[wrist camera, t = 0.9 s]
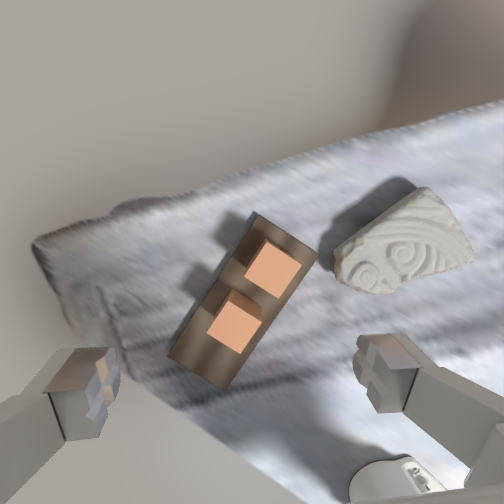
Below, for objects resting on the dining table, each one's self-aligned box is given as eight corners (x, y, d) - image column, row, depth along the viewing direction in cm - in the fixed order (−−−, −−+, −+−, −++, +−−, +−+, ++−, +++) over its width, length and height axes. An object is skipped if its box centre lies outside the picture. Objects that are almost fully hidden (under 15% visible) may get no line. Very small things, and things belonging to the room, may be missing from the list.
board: (318, 254, 46) (319, 254, 45) (225, 387, 50) (224, 391, 49) (258, 214, 46) (258, 214, 45) (169, 352, 50) (167, 356, 49)
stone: (416, 185, 45) (436, 180, 40) (463, 252, 46) (489, 257, 41) (318, 257, 47) (325, 262, 42) (365, 320, 48) (377, 332, 43)
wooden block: (261, 307, 47) (262, 322, 40) (242, 334, 48) (240, 354, 41) (232, 288, 46) (227, 300, 40) (214, 316, 47) (206, 333, 40)
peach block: (295, 257, 45) (302, 264, 38) (275, 286, 46) (278, 298, 39) (265, 238, 45) (266, 241, 38) (246, 267, 46) (243, 276, 39)
